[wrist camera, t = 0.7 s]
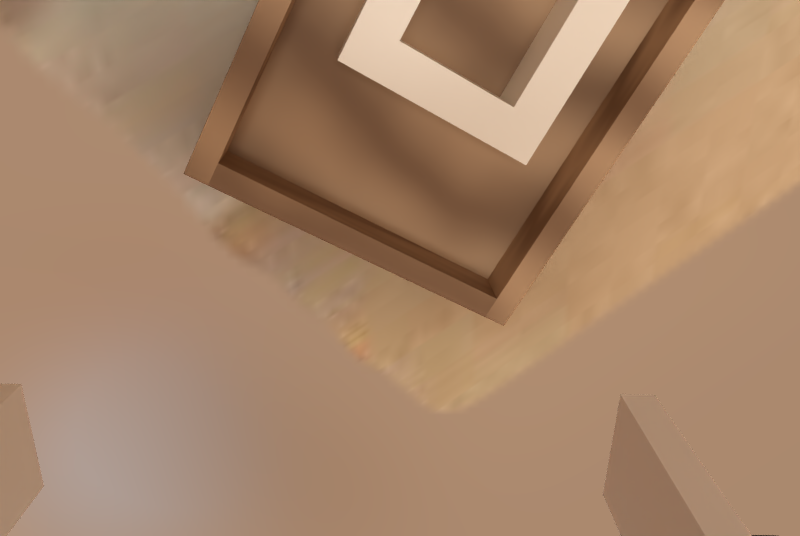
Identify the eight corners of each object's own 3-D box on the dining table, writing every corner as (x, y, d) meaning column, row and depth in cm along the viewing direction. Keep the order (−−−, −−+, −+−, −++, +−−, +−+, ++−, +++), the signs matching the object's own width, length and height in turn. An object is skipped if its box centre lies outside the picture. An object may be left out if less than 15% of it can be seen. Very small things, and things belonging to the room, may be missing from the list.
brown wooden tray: (455, -428, 25) (471, -490, 22) (788, -157, 29) (842, -175, 26) (199, 155, 33) (183, 173, 30) (490, 297, 38) (503, 325, 34)
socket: (443, -161, 27) (454, -178, 25) (626, -36, 30) (653, -39, 27) (338, 54, 31) (337, 60, 28) (511, 150, 33) (526, 165, 30)
